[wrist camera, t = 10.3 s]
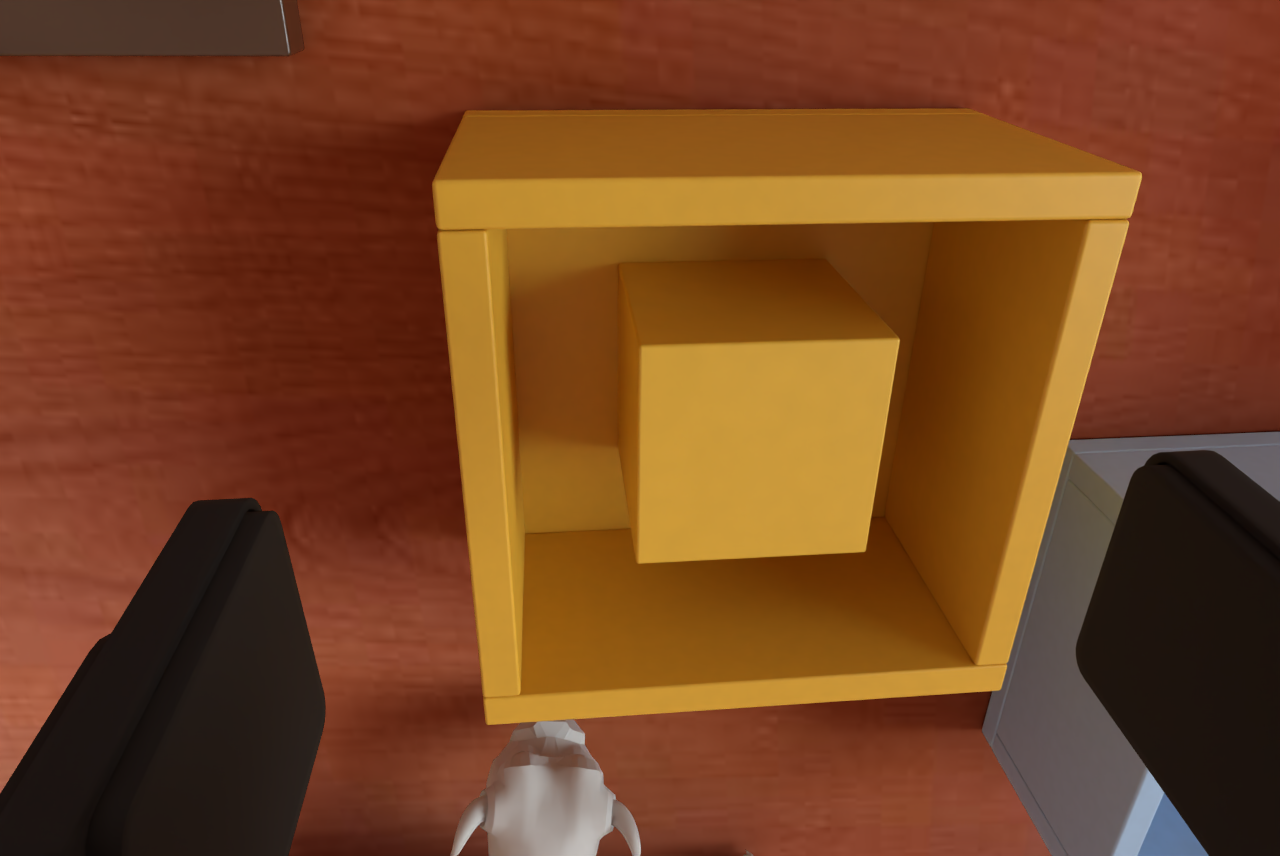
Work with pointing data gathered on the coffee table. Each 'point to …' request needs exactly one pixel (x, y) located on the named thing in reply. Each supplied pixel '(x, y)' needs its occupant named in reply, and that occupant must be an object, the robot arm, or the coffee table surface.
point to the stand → (150, 28)
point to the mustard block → (749, 408)
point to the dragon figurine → (546, 798)
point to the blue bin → (1052, 683)
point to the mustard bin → (917, 418)
